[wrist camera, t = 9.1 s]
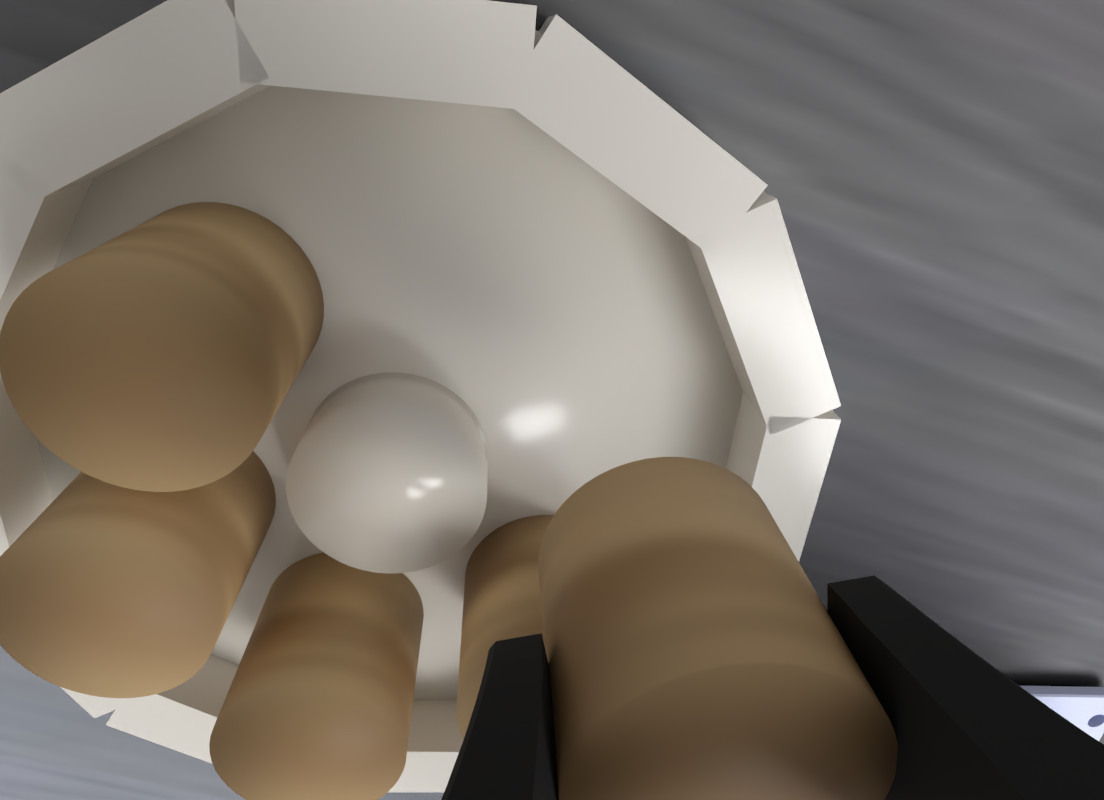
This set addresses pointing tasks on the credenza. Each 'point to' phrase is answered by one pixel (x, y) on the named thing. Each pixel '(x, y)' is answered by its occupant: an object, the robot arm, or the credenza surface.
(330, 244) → the tray
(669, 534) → the bead
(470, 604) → the bead
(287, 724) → the seated bead
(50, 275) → the seated bead
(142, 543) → the seated bead
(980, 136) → the credenza surface
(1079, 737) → the robot arm
